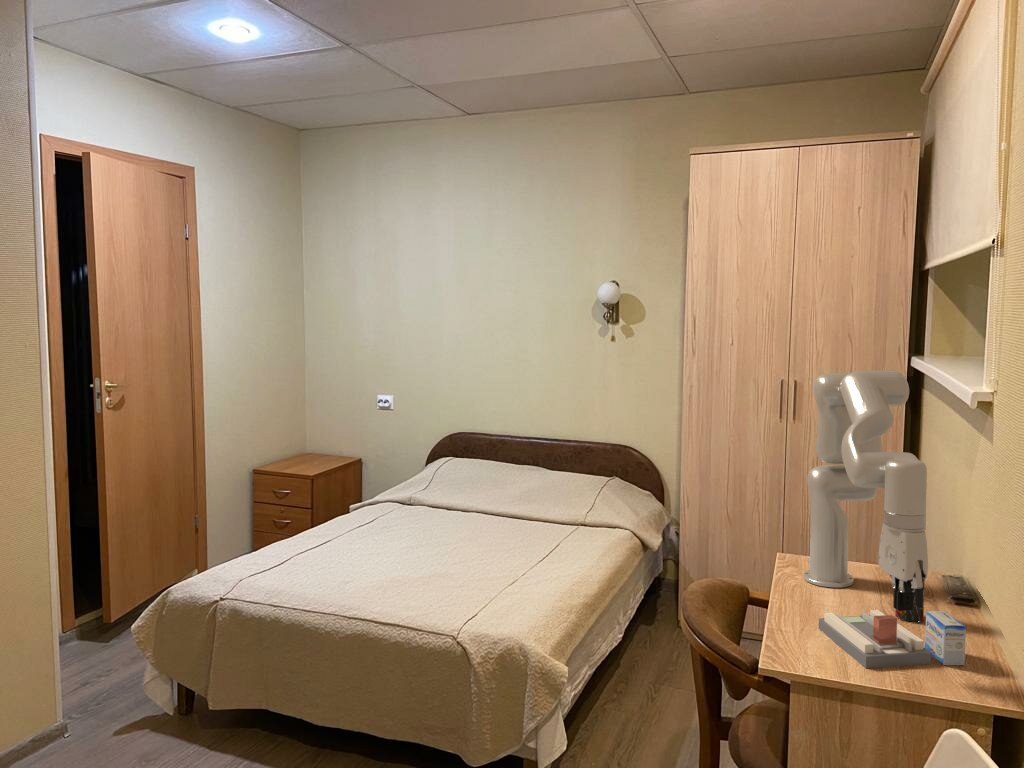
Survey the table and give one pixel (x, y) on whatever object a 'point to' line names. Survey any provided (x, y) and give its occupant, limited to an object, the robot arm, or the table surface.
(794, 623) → the table surface
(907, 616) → the deodorant
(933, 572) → the table surface
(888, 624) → the lever
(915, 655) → the breaker panel
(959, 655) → the medicine box
